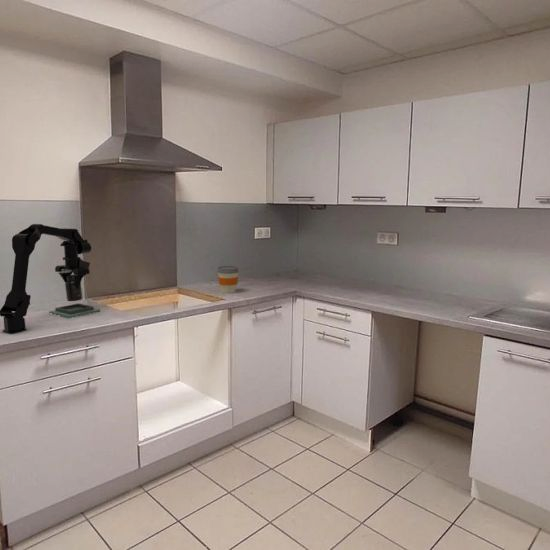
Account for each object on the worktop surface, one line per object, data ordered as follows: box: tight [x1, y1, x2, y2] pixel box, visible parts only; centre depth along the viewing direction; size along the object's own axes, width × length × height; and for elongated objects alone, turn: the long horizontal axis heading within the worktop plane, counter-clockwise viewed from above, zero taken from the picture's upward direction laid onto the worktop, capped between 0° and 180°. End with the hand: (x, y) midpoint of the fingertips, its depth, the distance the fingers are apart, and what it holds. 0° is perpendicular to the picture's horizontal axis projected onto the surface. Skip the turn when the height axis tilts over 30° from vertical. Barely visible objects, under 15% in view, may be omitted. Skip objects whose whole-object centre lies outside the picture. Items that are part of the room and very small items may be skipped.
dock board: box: [48, 302, 101, 319], centre depth 206 cm, size 16×16×2 cm
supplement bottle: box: [64, 274, 83, 302], centre depth 204 cm, size 7×7×12 cm
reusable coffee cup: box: [217, 265, 239, 294], centre depth 259 cm, size 13×13×15 cm
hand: (73, 287), depth 204 cm, fingers closed on supplement bottle, 7 cm apart
